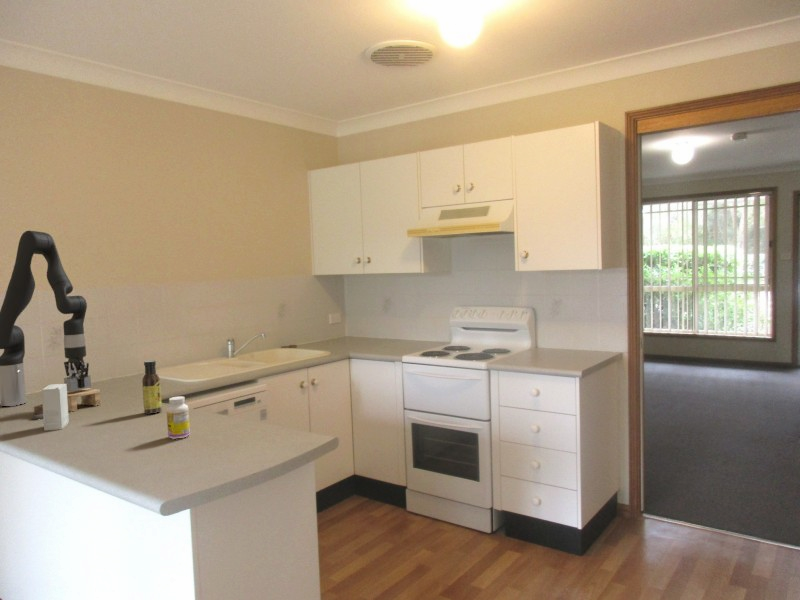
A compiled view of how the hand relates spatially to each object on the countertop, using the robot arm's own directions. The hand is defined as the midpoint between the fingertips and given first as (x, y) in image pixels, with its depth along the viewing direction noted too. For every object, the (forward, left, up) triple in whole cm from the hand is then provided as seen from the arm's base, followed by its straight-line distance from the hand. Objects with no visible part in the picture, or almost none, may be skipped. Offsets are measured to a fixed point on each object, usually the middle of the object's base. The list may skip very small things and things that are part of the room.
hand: (77, 387), depth 238 cm
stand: (0, 0, -8) cm, 8 cm away
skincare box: (+23, -21, -9) cm, 32 cm away
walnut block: (0, -14, -8) cm, 16 cm away
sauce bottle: (+38, +7, -8) cm, 39 cm away
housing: (0, 0, -1) cm, 1 cm away
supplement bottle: (+75, -10, -9) cm, 76 cm away
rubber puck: (+3, -17, -9) cm, 19 cm away
